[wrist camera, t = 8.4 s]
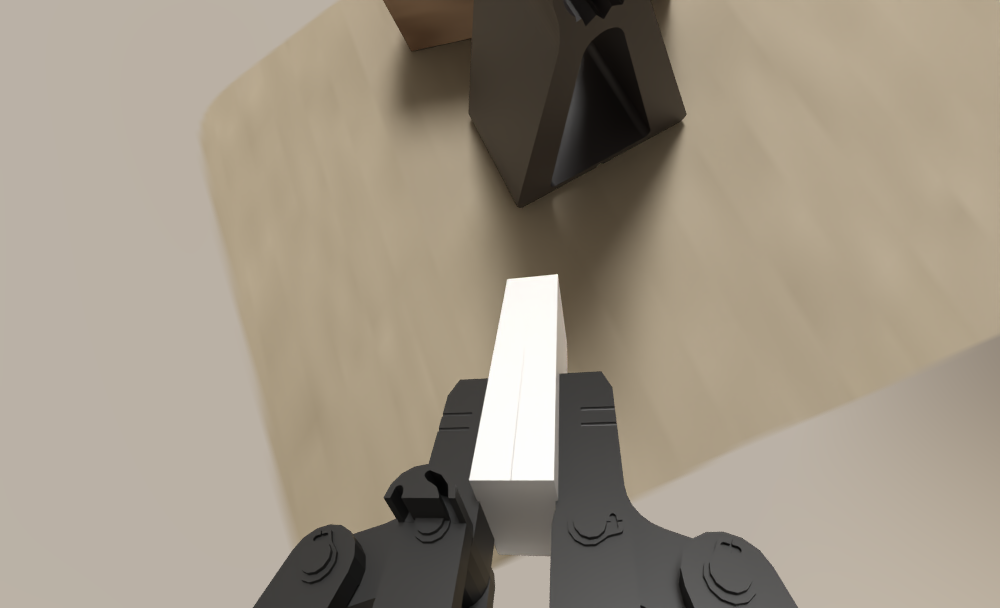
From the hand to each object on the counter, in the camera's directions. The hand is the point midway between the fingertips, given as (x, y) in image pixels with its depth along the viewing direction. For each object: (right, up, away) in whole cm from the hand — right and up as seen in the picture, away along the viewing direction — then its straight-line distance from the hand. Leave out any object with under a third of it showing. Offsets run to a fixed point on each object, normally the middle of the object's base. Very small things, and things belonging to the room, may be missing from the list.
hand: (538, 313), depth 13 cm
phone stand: (+2, +10, +9) cm, 13 cm away
